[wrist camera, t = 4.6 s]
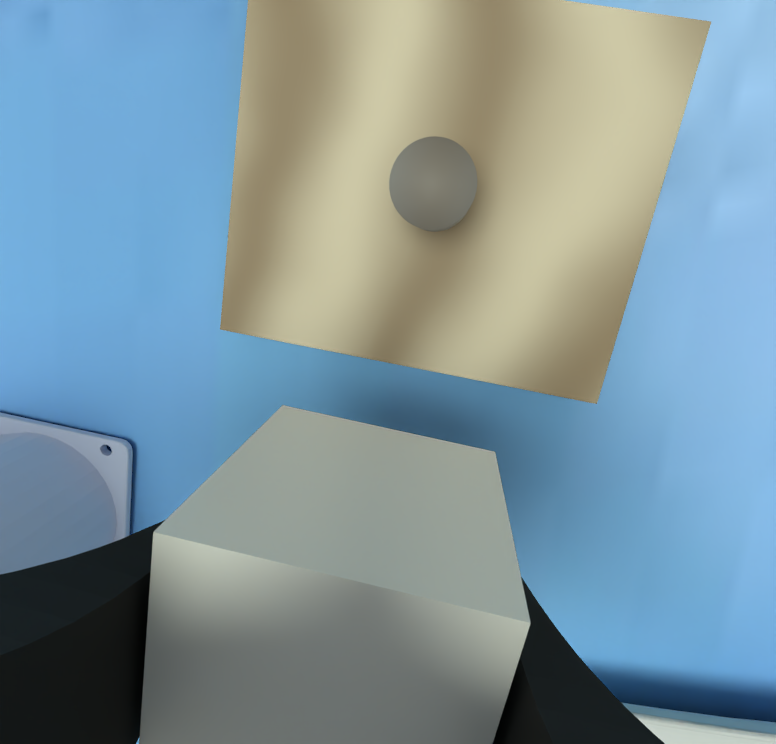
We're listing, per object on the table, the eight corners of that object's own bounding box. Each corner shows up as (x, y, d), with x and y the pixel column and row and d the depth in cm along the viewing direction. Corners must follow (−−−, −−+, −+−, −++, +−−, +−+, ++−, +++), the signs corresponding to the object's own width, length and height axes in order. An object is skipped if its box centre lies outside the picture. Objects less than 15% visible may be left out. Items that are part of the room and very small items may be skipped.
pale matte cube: (258, 584, 15) (135, 804, 9) (282, 405, 13) (153, 532, 8) (448, 630, 14) (446, 890, 9) (495, 451, 13) (530, 623, 7)
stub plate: (236, 323, 20) (175, 346, 16) (268, -21, 17) (204, -115, 13) (585, 391, 20) (626, 437, 15) (688, 40, 16) (779, -36, 12)
